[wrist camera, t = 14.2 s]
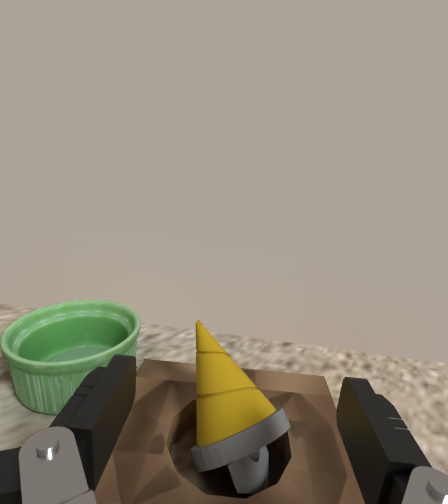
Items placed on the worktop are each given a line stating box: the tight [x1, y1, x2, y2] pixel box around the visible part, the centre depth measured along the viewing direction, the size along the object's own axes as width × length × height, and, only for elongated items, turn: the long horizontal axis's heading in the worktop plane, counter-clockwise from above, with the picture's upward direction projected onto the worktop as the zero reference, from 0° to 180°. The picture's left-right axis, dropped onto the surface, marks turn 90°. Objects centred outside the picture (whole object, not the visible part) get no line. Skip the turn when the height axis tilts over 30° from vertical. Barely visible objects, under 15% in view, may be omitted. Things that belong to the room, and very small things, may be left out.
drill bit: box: [190, 321, 290, 494], centre depth 18 cm, size 5×5×10 cm
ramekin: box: [0, 300, 140, 415], centre depth 24 cm, size 9×9×4 cm
